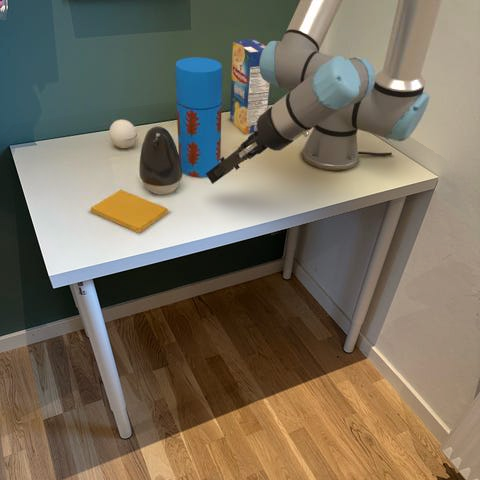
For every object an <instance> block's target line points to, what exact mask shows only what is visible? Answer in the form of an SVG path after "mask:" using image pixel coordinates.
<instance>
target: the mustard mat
mask: <svg viewBox="0 0 480 480" xmlns="http://www.w3.org/2000/svg"><path fill="white" fill-rule="evenodd" d="M90 212H91V213H92V214H94V215H97V216H99V217H101V218H104V219H106V220H108V221H111V222H113V223H115V224H118V225H119V226H122V227H125V228H126V229H129V230H132V231H134V232H136V233H138V234H140V233H142V232H143V231H144V230H146V229H147V228H149V227H150V226H151V225H153V224H154V223H156V222H157V221H158V220H160V219H161V218H162V217H164V216H166V215H167V214H168V213H169V210H168V207H165V206H163V205H161V204H158V203H155V202H153V201H150V200H148V199H145V198H143V197H140V196H138V195H135V194H133V193H130V192H128V191H126V190H123V189H119V190H118V191H116V192H114V193H113V194H111V195H109V196H108V197H105V198H104V199H102V200H100V202H98V203H96V204H94V205H92V206H90Z"/></svg>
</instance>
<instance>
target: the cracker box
mask: <svg viewBox="0 0 480 480" xmlns="http://www.w3.org/2000/svg"><path fill="white" fill-rule="evenodd" d="M265 46H266V45H265V44H263V43H262V42H260V41H259V40H257V39H255V38H251V39H241V40H233V41H232V59H231V60H232V63H231V82H230V83H231V86H230V112H229V114H230V115H229V117H230V118H229V120H230V122H231V123H232V124H234V125H235V126H236V127H238V129H240V130H241V132H243V133H244V134H245V135H246V134H253V133H254V132H256V131H257V120H258V118H259V117H260V115H262V114H263V113H264V112H265V111H267V110H268V109H269V98H270V87H271V83H269V82H267V81H265V80H264V79H263V78H262V76H261V74H260V68H259V63H260V57H261V54H262V51H263V49H264V47H265Z"/></svg>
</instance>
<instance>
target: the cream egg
mask: <svg viewBox="0 0 480 480" xmlns="http://www.w3.org/2000/svg"><path fill="white" fill-rule="evenodd" d="M108 131H109V133H108V134H109V138H110V141H111V142H112V144H114V145H115V146H116V147H117V148H119V149H128V148H131V147H132V146H134V144H135V143H136V141H137V139H138V133H137V129H136V127H135V126H134V124H133V123H132V122H130V121H129V120H127V119H117V120H115V121H113V122H112V124H111V125H110V127H109V130H108Z"/></svg>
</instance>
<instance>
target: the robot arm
mask: <svg viewBox="0 0 480 480" xmlns="http://www.w3.org/2000/svg"><path fill="white" fill-rule="evenodd" d="M442 1H443V0H397V5H396V10H395V14H394V19H393V24H392V28H391V32H390V37H389V41H388V46H387V50H386V54H385V59H384V64H383V68H382V69H381V70H380V71H378V72H377V73H376V70H375V68H374V66H373V65H372V63H371V62H370V61H369V60H368V59H366V58H364V57H355V56H354V57H350V58H349V59H348V58H345V57H344V56H342V55H341V56H340V55H337V56H334V55H332V54H327V53H323V52H321V51H320V49H321V47H322V45H323V43H324V41H325V39H326V37H327V34H328V33H329V31H330V28H331V26H332V24H333V22H334V20H335V18H336V16H337V14H338V11H340V7H341V5H342V3H343V2H344V0H300V1H299V3H298V5H297V6H296V9H295V11H294V14H293V16H292V18H291V20H290V21H289V22H290V23H289V24H288V27H287V29H286V31H285V33H284V35H283V37H282V39H281V41H280V40H271V41H269V42H268V43H267V44H266V45H265V47H264V49H263V51H262V54H261V57H260V63H259V68H260V74H261V76H262V78H263V79H264V80H265V81H267V82H269V83H270V85H271V84H272V85H274V86H276V87H279V88H280V89H282V88H283V89H288V90H290V91H289V92H287V93H286V94H285V95H283V96H282V97H281V98H280V99H279V100H277V101H276V102H275V103H273V105H272V106H270V107H268V109H267V111H265V112H264V113H263V114H262V115H260V117H259V118H258V120H257V131H256V132H254V133H250V135H249V136H248V137H247V139H246V140H244V141H243V142H241V144H240V146H238V148H237V149H235V151H234V152H232V153H231V154H230V155H228V156H227V157H225V156H222V157H220V163H219V164H218V165H216V166H215V167H214V168H212V169H211V170H210V171H209V172H207V173H206V175H207V177H206V178H208V180H209V181H210V183H211V184H212V185H214V184H215V183H217V182H218V181H219V180H220V179H221V178H223V177H224V176H226V175H227V174H229V173H230V172H232V171H233V170H234V169H235V170H236V171H237V170H239V169H240V168H241V166H240V164H241V163H244V162H245V161H247V160H251V159H253V158H254V157H256V156H257V155H260V154H262V153H263V152H264V151H266V150H268V149H270V150H272V151H277V152H278V151H282V150H284V149H285V148H286V147H288V146H289V145H290V144H292V143H294V141H296V140H297V139H299V138H300V137H302V136H304V137H308V138H307V140H306V142H305V144H304V146H303V151H302V158H303V160H304V161H305V162H306V163H307V164H309V165H310V166H312V167H315V168H317V169H320V170H325V171H330V172H331V171H332V172H339V171H346V170H349V169H352V168H354V167H355V166H356V165H357V164H358V163H357V162H358V160H359V155H362V156H373V157H386V156H392V155H393V152H373V151H371V152H370V151H359V148H358V146H359V145H358V135H357V134H358V130H359V131H363V132H366V133H369V134H372V135H376V136H378V137H381V138H384V139H386V140H392V141H396V142H404V141H407V140H408V139H409V138H410V136H411V135H412V134H413V133H414V132H415V130H416V128H417V127H418V125H419V123H420V122H421V120H422V118H423V116H424V114H425V112H426V110H427V107H428V104H429V101H430V94H428V93H427V92H424V89H425V85H426V80H425V78H424V76H423V75H422V71H423V69H424V64H425V62H426V61H425V60H426V57H427V54H428V50H429V47H430V43H431V40H432V36H433V33H434V29H435V26H436V22H437V18H438V15H439V12H440V9H441V5H442ZM310 130H311V132H310V133H309V131H310Z"/></svg>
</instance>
